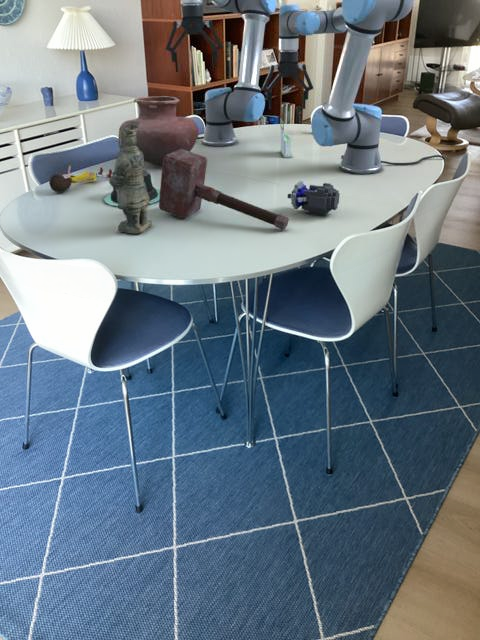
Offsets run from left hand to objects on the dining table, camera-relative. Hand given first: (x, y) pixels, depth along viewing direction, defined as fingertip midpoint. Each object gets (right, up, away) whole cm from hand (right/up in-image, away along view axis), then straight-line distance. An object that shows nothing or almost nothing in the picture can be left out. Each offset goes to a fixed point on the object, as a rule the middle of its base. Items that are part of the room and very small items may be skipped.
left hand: (195, 71), depth 204 cm
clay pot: (-15, -28, +21) cm, 38 cm away
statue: (-14, -65, -42) cm, 79 cm away
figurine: (-41, -43, -3) cm, 59 cm away
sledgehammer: (+12, -62, -37) cm, 73 cm away
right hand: (+35, -6, +20) cm, 41 cm away
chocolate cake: (-19, -50, -16) cm, 56 cm away
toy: (+39, -58, -33) cm, 77 cm away
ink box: (+35, -22, +30) cm, 51 cm away
